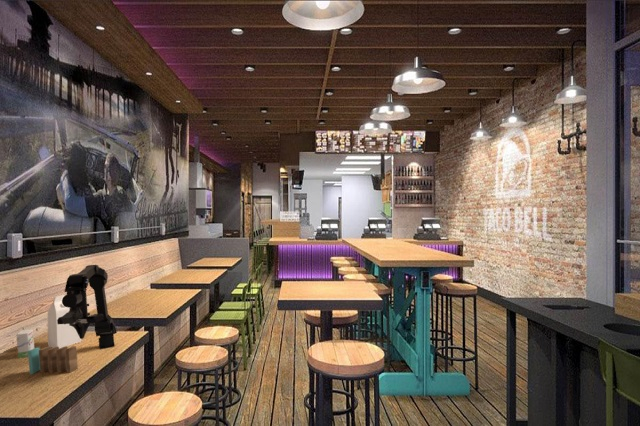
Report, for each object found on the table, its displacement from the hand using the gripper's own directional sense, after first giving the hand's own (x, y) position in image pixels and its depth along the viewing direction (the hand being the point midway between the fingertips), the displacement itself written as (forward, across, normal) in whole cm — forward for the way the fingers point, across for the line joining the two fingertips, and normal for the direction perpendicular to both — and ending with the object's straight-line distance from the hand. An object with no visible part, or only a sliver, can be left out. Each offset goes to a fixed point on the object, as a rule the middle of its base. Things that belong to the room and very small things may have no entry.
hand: (81, 338), depth 182 cm
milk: (+13, -40, +36) cm, 55 cm away
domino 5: (+14, -5, -1) cm, 14 cm away
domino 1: (+14, -22, -2) cm, 26 cm away
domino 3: (+14, -14, -1) cm, 19 cm away
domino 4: (+14, -9, -1) cm, 16 cm away
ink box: (+13, -48, +19) cm, 54 cm away
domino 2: (+14, -18, -1) cm, 23 cm away
